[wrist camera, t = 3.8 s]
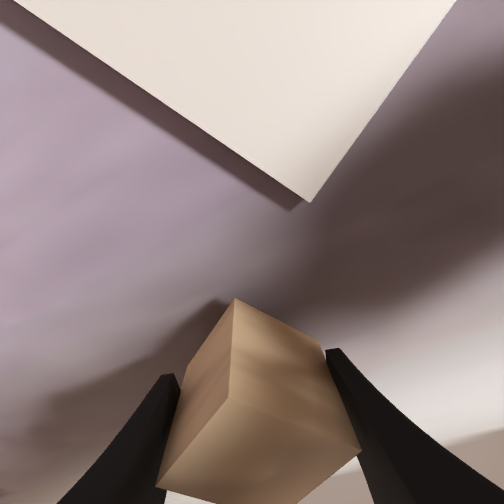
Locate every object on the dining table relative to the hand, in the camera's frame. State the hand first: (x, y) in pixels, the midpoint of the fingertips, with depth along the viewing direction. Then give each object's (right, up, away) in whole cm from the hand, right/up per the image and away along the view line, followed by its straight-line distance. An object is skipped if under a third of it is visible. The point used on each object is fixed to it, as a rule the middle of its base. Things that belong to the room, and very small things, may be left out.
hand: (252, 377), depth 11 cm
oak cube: (0, +1, +1) cm, 1 cm away
